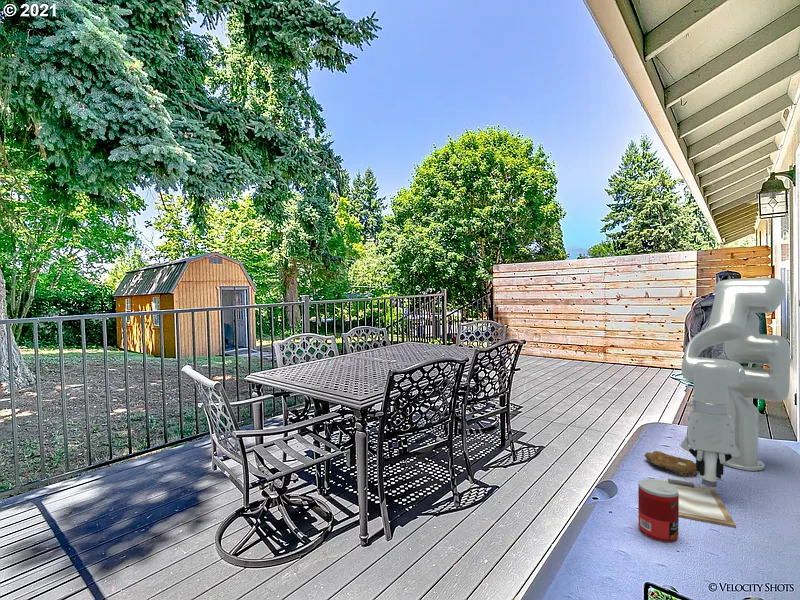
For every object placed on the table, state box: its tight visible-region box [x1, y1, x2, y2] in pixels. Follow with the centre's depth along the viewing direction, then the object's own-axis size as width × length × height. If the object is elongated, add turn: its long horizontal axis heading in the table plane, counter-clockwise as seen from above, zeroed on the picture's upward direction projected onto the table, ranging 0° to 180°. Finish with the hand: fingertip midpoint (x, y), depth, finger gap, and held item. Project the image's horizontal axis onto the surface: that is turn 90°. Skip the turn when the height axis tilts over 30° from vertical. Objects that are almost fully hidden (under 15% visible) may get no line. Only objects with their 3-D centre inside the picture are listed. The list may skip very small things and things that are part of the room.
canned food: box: [637, 478, 680, 543], centre depth 97 cm, size 8×8×11 cm
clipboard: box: [647, 477, 737, 528], centre depth 111 cm, size 20×16×2 cm
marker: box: [701, 451, 718, 488], centre depth 112 cm, size 3×3×12 cm
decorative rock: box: [643, 450, 698, 478], centre depth 132 cm, size 11×4×15 cm
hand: (709, 474), depth 112 cm, fingers closed on marker, 3 cm apart
